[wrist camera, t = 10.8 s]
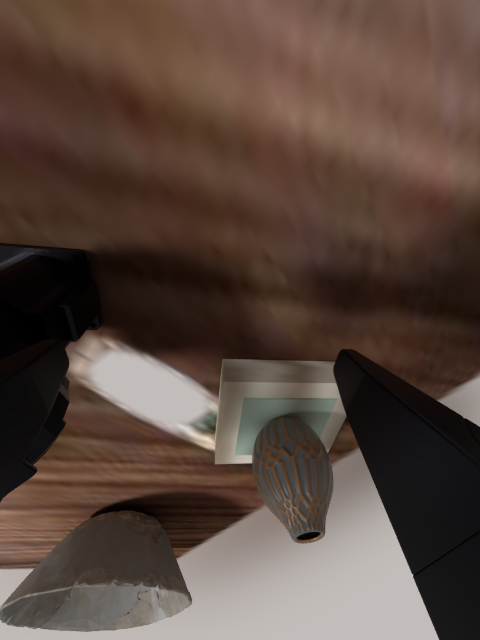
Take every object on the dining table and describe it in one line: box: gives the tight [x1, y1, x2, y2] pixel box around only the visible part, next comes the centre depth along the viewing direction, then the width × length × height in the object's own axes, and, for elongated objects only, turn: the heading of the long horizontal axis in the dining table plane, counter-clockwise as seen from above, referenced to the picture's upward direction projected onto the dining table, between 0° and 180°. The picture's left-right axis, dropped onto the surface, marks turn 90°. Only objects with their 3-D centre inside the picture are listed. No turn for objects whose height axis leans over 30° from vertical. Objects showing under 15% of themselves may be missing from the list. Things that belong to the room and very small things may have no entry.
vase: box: [252, 417, 333, 543], centre depth 22 cm, size 7×7×9 cm
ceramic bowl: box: [0, 510, 192, 632], centre depth 36 cm, size 22×23×10 cm
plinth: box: [215, 359, 346, 464], centre depth 27 cm, size 13×13×3 cm
